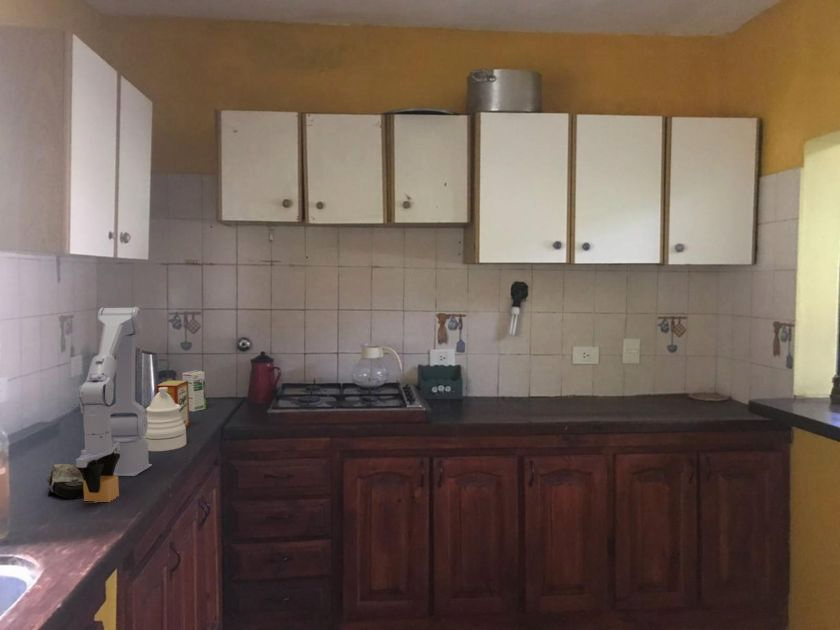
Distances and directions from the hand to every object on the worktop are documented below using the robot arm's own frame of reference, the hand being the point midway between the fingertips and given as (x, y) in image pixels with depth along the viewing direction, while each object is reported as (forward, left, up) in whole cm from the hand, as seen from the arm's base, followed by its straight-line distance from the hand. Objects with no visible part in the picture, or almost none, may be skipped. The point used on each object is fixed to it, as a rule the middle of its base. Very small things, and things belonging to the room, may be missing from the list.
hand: (100, 488), depth 160 cm
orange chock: (0, 0, -3) cm, 3 cm away
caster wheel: (-4, -10, -3) cm, 11 cm away
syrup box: (-94, -20, -3) cm, 96 cm away
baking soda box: (-65, -14, -3) cm, 66 cm away
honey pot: (-46, -8, -3) cm, 47 cm away
